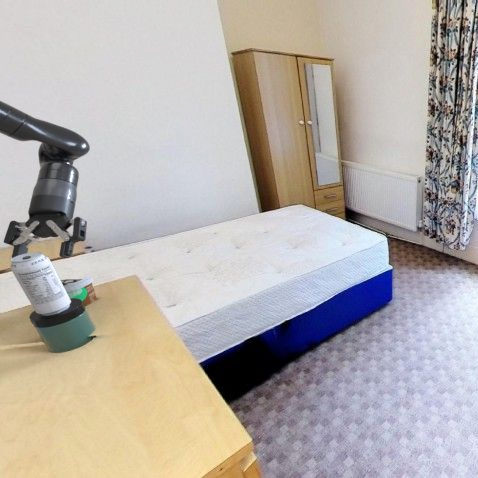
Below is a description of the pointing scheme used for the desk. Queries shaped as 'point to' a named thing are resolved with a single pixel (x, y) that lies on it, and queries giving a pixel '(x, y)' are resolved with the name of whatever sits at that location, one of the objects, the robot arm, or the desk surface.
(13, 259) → the energy drink can
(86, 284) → the food container
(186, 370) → the desk surface
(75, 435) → the desk surface
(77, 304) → the jar lid
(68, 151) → the robot arm
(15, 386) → the desk surface
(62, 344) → the jar
